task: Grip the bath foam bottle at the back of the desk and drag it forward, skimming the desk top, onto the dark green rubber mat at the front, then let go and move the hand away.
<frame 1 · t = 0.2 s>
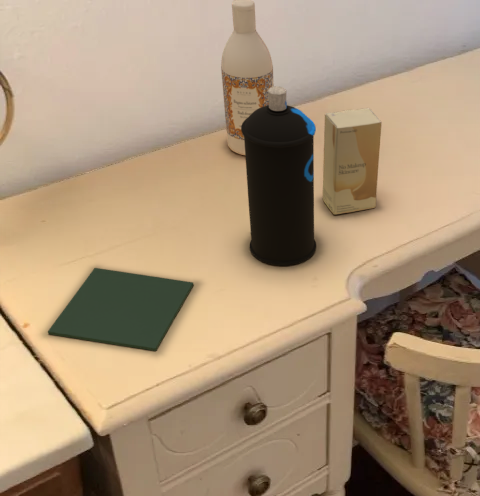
aerosol can: (283, 248, 103), on the dresser
bath foam: (252, 147, 121), on the dresser
mat: (124, 308, 93), on the dresser
cosmetic box: (349, 205, 111), on the dresser
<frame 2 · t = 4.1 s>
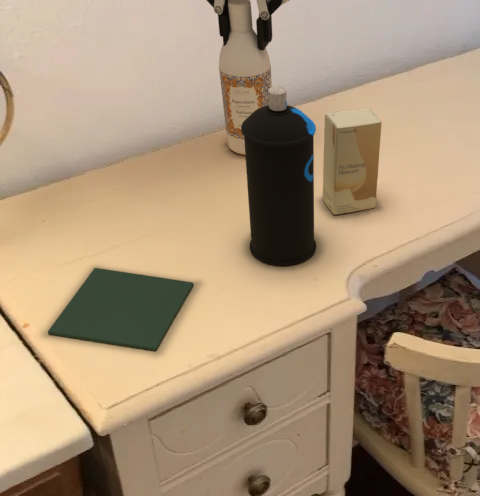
hand: (246, 43, 111), 15 cm above the dresser, tool pointing down, fingers closed on bath foam, 4 cm apart
bath foam: (252, 146, 121), on the dresser, touching gripper
everything else where it was.
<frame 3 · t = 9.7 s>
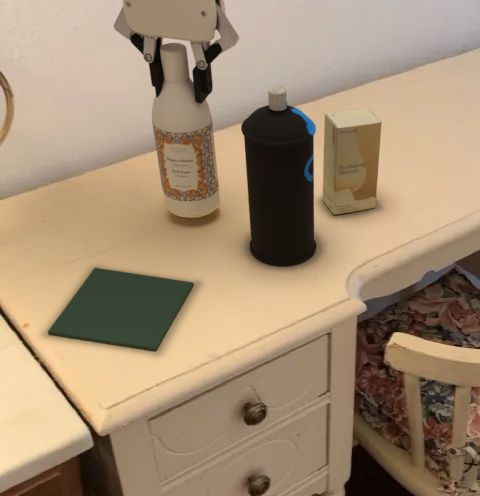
hand: (183, 94, 97), 16 cm above the dresser, tool pointing down, fingers closed on bath foam, 4 cm apart
bath foam: (193, 206, 107), point 1 cm above the dresser, touching gripper
everything else where it was.
when the fingers open (15 cm above the dresser, at t = 15.6 s): bath foam stays where it is, resting on mat.
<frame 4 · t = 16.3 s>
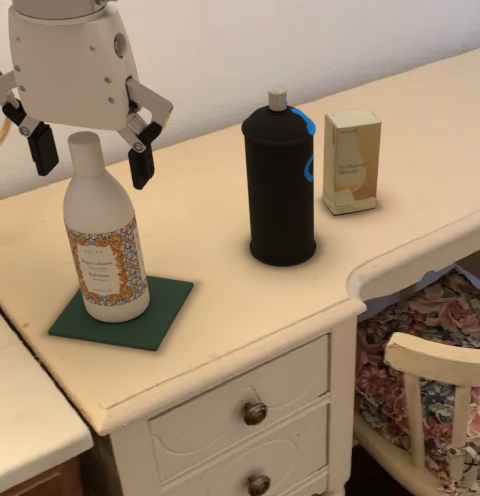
hand: (96, 176, 82), 16 cm above the dresser, tool pointing down, fingers open, 9 cm apart
bath foam: (118, 306, 93), resting on mat
everything else where it was.
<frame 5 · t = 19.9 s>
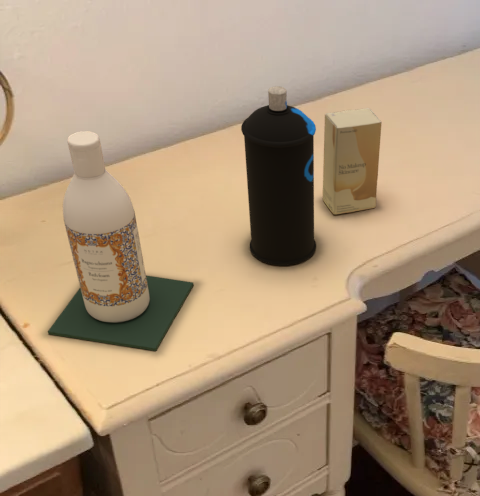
nothing on the dresser moved.
at the end: bath foam inside the target area on the mat (0.6 cm from its centre), point 0.2 cm above the mat's base; bath foam tilted 0°; bath foam moved 40.2 cm from its start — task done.
